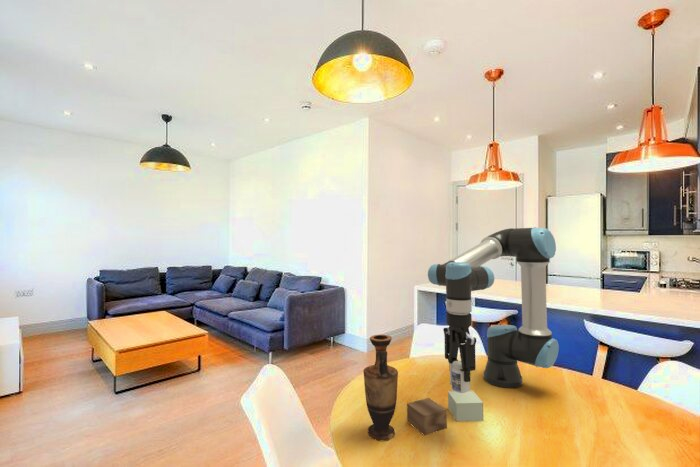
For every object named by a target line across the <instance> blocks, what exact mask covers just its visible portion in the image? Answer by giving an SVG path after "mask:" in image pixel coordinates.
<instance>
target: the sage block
mask: <svg viewBox="0 0 700 467" xmlns="http://www.w3.org/2000/svg"><path fill="white" fill-rule="evenodd" d="M447 408H448V409H447V410H449V412H450V414H451V415H452V417H453V418H454V420H455V419H456V420H455V421H456V422H483V421H484V402H483V401H482V399H481V398H480V397H479V396H478V394H476V393H475V391H474V390H470V391H468V392H465V393H458V392H455V391H453V390H450V391H449V390H448V391H447Z"/></svg>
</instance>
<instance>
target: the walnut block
mask: <svg viewBox="0 0 700 467" xmlns="http://www.w3.org/2000/svg"><path fill="white" fill-rule="evenodd" d="M447 410H448V409H447V408H445V407H444V406H443V405H441V404H439V403H437V402H436V401H434V400H433V399H432V398H429V397H426V398H423V399H419V400H415V401H412V402H408V403H406V414H407V416H406V418H407V420H406V421H408V422H409V423H408V422H407V423H408V424H409V425H411V424H412V425H413V426H414V427H413V426H412V425H411V426H412V427H413V428H415V429H416V430H417V429H418V430H419V431H418V430H417V431H418V432H419V433H421V434H422V433H423V434H424V436H427V434H428V435H431V434H434V433H436V431H437V432H439V431H443V430H445V429H447V428H448V412H447ZM433 432H434V433H433ZM430 433H431V434H430ZM423 434H422V435H423Z"/></svg>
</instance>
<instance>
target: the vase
mask: <svg viewBox="0 0 700 467" xmlns="http://www.w3.org/2000/svg"><path fill="white" fill-rule="evenodd" d="M392 338H393V337H392V336H390V335H388V334H375V335H371V336H370V337H369V341H370V343H371V344H372V346H373V347H374V349H375V362H374V364H372V365H368V366H366V367H364V369H363V382H364V383H363V384H364V394H365V402H366V408H367V411H368V414H369V417H370V419H371V422H372V424H371V425H370V426H369V427H368V429H367V434H368V437H370V438H371V439H373V440H375V439H376V441H379V440H387V439H389V440H390V439H392V438H391V437H393V438H394V437H395V434H396V433H395V428H394V427H393V426H392V425H390V423H391V421H392V420H393V417H394V415H395V412H396V408H397V407H396V406H397V398H398V396H397V395H398V380H399V379H398V377H399V372H398V369H397V368H396V367H393V366H390V365H388V351H387V348H388V346H390V343H391V341H392ZM387 441H388V440H387Z"/></svg>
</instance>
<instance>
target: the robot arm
mask: <svg viewBox="0 0 700 467" xmlns="http://www.w3.org/2000/svg"><path fill="white" fill-rule="evenodd" d="M556 250H557V245H556V240H555V237H554V235H553V233H552V232H551V231H550V229H548V228H545V227H521V228H517V227H516V228H505V229H502V230H499V231H498V230H497V232H494V233H491V234H490V235H488V236H486V237H484V238H483V239H482V240H481V241H480V242H479V243H478V244H476V245H474V246H473V247H471V248H469V249H468V250H465V251H463V253H461V254H459V255H457V256H455V257H454V258H451V259H450V260H448V261H447V262H444V263H442V264H440V263H438V264H437V263H436V264H432V265H430V266H429V268H428V271H427V278H428V281H429V282H430V284H433V285H437V286H439V287H441V286H443V287H445V300H446V301H445V306H446V311H447V312H446V314H445V320H446V321H445V322H446V325H448V327H443V328H442V329H443V330H442V331H443V334H444V335H443V336H444V358H445V359H446V360H447V363H449V366H448V367H449V370H448V371H449V384H450V385H451V386H452V368H453V362H454V361H459V359H458V353H459V357H460V361H461V363H462V369H460V373H461V392H462V393H463V392H468V391H471V384H470V383H471V372H473V371H476V344H477V338H476V337H475V336H474V337H473V336H471V333H470V329H469V328H470V327H472V324H473V323H472V314H471V313H472V311H473V310H472V308H473V307H472V292H474V291H484V290H485V289H486V290H487V289H490V288H491V287H492V286H493V285H494V282H495V274H494V272H493V271H492V269H491V268H489V267H487V266H483V265H485V264H486V263H487V262H489V261H491V260H496V259H499V258H500V257H511V258H513V257H514V258H515V257H516V263H517V264H518V265H519V266H520V282H521V283H520V286H521V287H520V288H521V318H522V319H521V320H522V321H521V326H520V327H519V328H517V326H516V325H511V324H496V325H492V326H489V327H488V328H487V330H486V331H487V332H486V345H487V346H486V348H487V349H486V350H487V351H486V352H487V359H486V360H487V362H486V364H485V368H484V370H483V380H484V381H485V382H486V383H488V384H491V386H492V385H493V386H496V387H499V388H500V387H501V388H504V389H505V388H506V389H508V388H509V389H512V388H513V389H514V388H519V387H521V386H523V377H522V374H521V371H520V367H519V365H518V362H520V363H525V364H528V365H531V366H534V367H536V368H542V369H550V368H551V367H552V366H553V365H554V364H555V363H556V360H557V358H558V355H559V351H560V350H559V349H560V345H559V343H558V340H557V339H555V338H553V333H552V331H551V330H550V329H549V328H548V315H547V312H548V311H547V288H546V287H547V282H546V281H547V279H546V275H547V274H546V266H547V265H548V264H550V262H551V260H550V259H552V258H554V257H555V255H556Z"/></svg>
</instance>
